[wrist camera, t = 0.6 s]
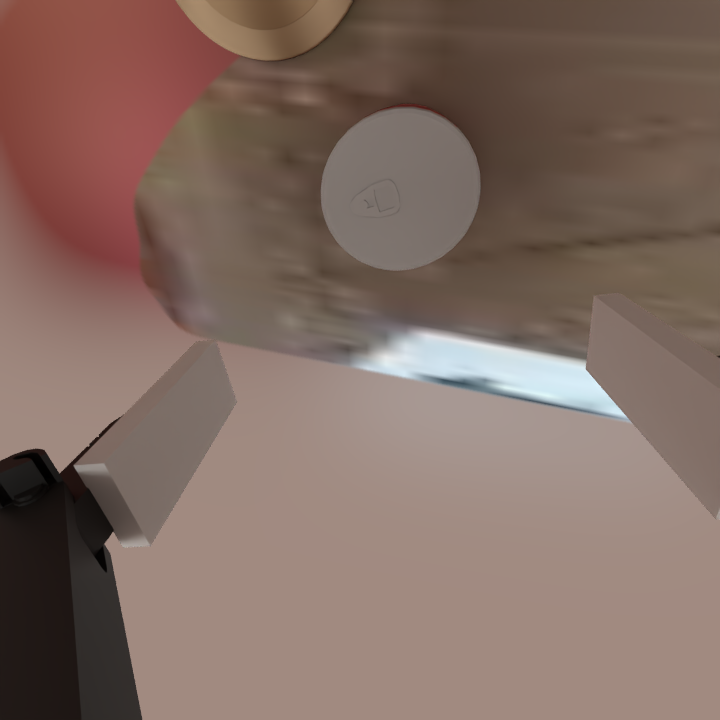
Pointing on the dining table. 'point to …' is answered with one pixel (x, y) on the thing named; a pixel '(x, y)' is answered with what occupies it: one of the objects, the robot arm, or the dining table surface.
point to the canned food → (400, 188)
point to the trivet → (266, 24)
